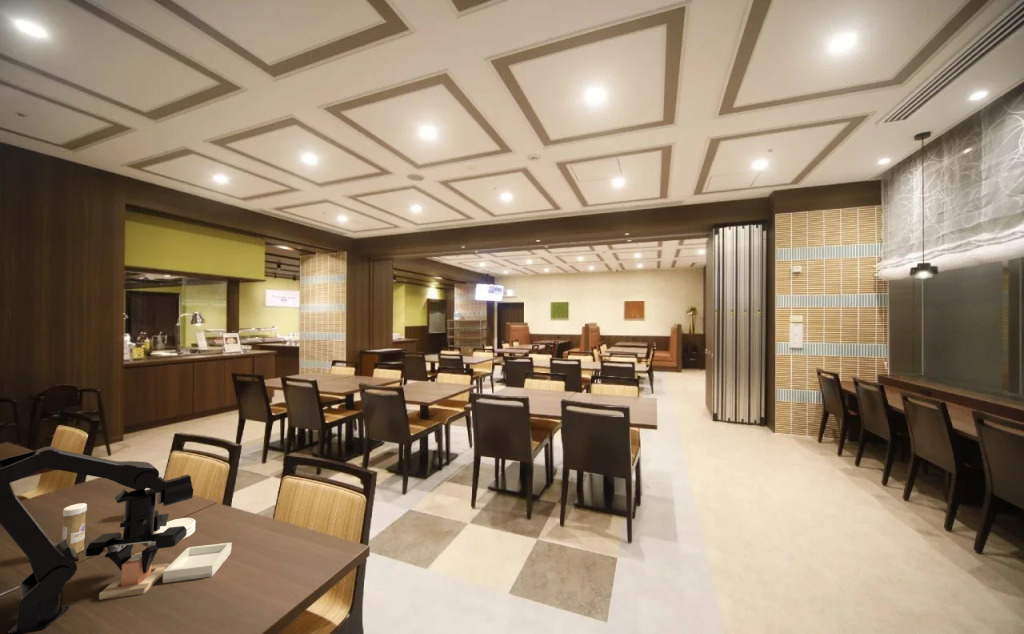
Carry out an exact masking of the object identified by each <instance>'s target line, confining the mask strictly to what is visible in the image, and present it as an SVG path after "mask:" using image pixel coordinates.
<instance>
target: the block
mask: <svg viewBox="0 0 1024 634" xmlns="http://www.w3.org/2000/svg"><path fill="white" fill-rule="evenodd" d="M151 565H153V562H152V563H151ZM151 565H150V568H149V570H148V571H147V572H146V573H143V568H142V551H140V552H136V553H135V554H134V555H131V558H130V559H128V560H127V561H126V562H125V563H123V564H122V571H121V575H120V576H121V587H122V586H130V585H137V584H140V583H141V582H142V581H143V580H144V579H146V578H147V577H148V576H149V575H150V574H151Z"/></svg>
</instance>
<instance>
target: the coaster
mask: <svg viewBox="0 0 1024 634" xmlns="http://www.w3.org/2000/svg"><path fill="white" fill-rule="evenodd" d="M179 526H184V527H185V528H186V529H187V532H186V536H185V537H184V538H183V539H182V540H185V539H186V538H188V537H190V536H191V535H193V534H194V533H195V532H196V526H197V525H196V520H195V519H194V518H192V517H181V518H176V519H171V520H170V521H167V524H166V526H160V529H159V530H158V531H155V532H154V534H157V533H162V532H164V531H165V530H167V529H168V528H169V527H179Z"/></svg>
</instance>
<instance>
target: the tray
mask: <svg viewBox="0 0 1024 634" xmlns="http://www.w3.org/2000/svg"><path fill="white" fill-rule="evenodd" d="M232 544H233V543H232V542H224V543H216V544H215V543H214V544H207V545H198V546H197V545H196V546H189V547H186V549H185V550H184V551H182V552H181V553H180V554H179V556H177V558H175V559H174V560H173V561H172V562H171V563H169V566H168V567H167V568H166V569H165V570H164V571H163V575H162V584H166V583H168V584H169V583H172V582H173V583H175V582H181V581H182V582H183V581H188V580H189V581H191V580H197V579H204V578H205V579H206V578H212V577H213V576H214V575H215V573H216V572H217V571H218V570H219V568H220V567H221V566H222V565H223V564H224V563H225V562H226V560H227V558H229V556H230V555H231V553H232Z"/></svg>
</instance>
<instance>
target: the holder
mask: <svg viewBox="0 0 1024 634" xmlns="http://www.w3.org/2000/svg"><path fill="white" fill-rule="evenodd" d="M169 565H170V563H168V562H167V563H160V564H159V563H158V564H152V565H151V574H150V575H149V576H148V577H147V578H146V579H144V580H143V581H142V582H141V583H140V584H137V585H130V586H122V587H121V575H119V576H118V577H117V578H115V580H114V581H112V582H111V583H110V584H109V585H108V586H106V587H105V588H104V589H103V590H102V591H101V592H99V595H98V600H99V601H101V600H107V599H116V598H123V597H129V596H136V595H137V596H138V595H144V594H145V593H146V592H147V591H148V590H149V589H150V588H152V586H153V585H154V584H155V583H157V581H159V580H160V578H162V577H163V571H164V570H165V569H166V568H167V567H168V566H169Z"/></svg>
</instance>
